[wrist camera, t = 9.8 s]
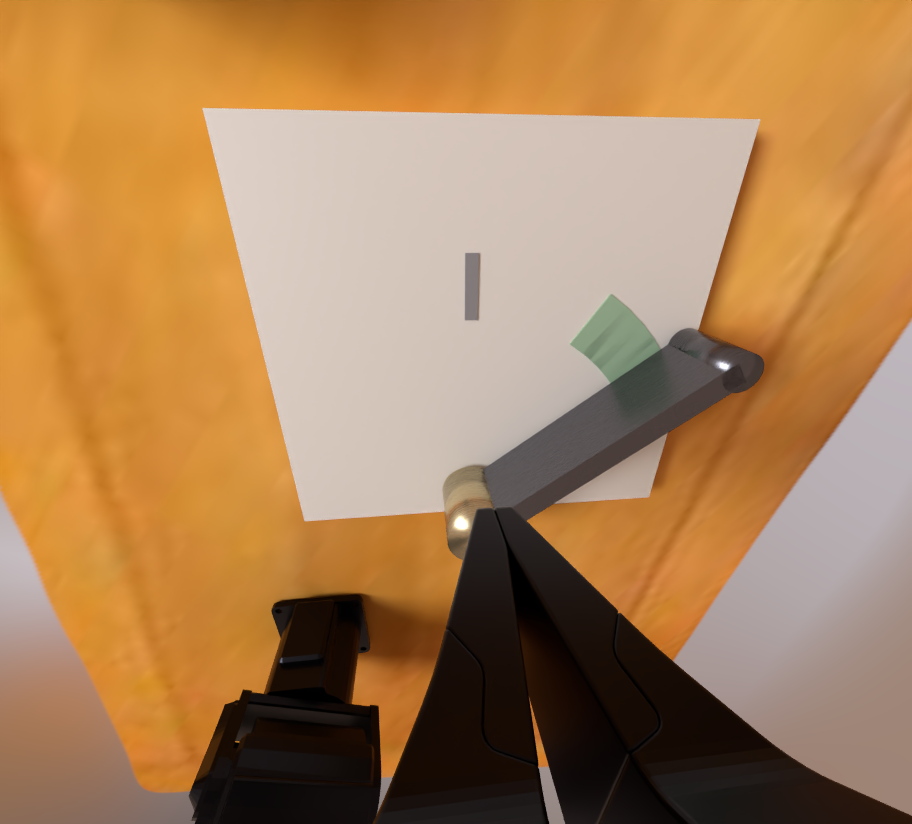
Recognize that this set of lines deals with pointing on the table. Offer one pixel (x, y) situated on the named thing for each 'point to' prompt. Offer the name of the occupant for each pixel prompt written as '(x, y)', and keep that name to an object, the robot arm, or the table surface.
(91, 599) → the table surface
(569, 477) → the pointer
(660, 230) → the dial board
